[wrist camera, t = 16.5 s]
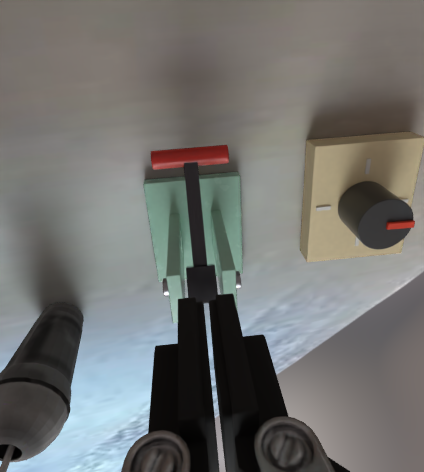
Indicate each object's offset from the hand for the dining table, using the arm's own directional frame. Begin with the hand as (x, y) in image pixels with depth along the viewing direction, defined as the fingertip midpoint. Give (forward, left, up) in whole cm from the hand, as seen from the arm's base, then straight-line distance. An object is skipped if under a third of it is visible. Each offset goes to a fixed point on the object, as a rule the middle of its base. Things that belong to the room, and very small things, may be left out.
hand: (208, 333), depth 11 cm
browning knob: (+7, +16, -23) cm, 28 cm away
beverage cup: (+19, -16, -25) cm, 35 cm away
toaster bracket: (+9, 0, -25) cm, 27 cm away
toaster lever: (+5, 0, -18) cm, 19 cm away
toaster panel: (+7, +16, -25) cm, 31 cm away
